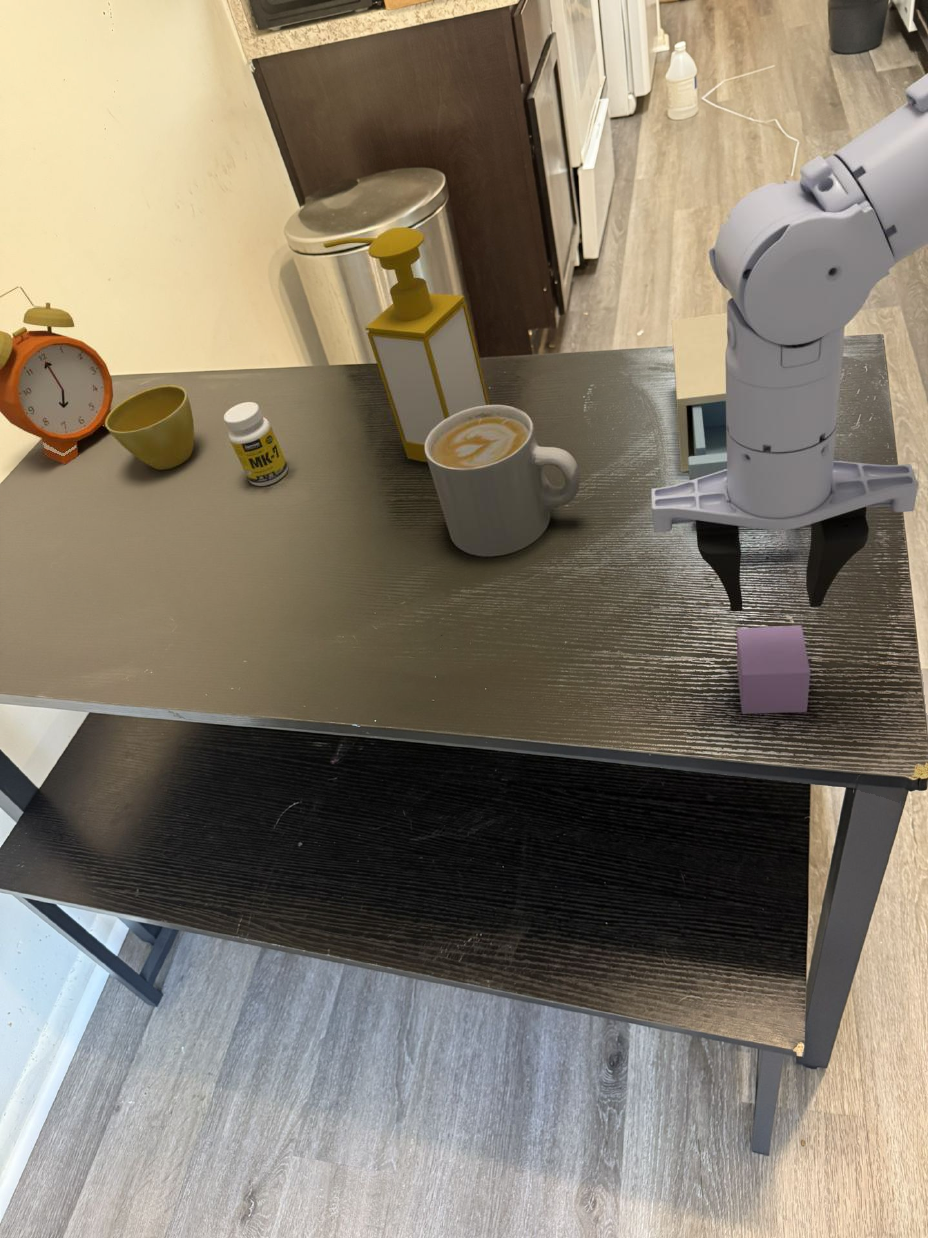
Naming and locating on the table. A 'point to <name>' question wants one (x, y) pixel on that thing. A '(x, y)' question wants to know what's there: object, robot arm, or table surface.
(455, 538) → the coffee mug
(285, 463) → the supplement bottle
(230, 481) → the table surface
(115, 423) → the flower pot
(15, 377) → the alarm clock
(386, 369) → the soap bottle
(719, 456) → the drawer
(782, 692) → the block
